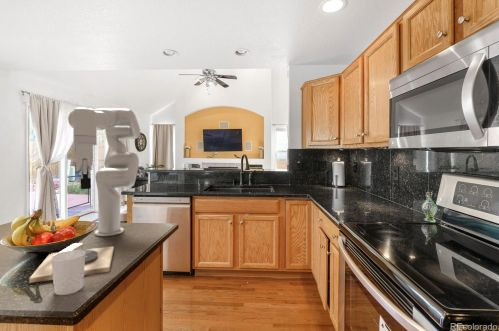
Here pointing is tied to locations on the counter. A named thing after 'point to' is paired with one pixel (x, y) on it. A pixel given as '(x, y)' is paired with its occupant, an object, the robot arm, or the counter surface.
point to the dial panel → (95, 266)
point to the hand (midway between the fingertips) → (85, 188)
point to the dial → (89, 254)
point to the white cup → (68, 271)
